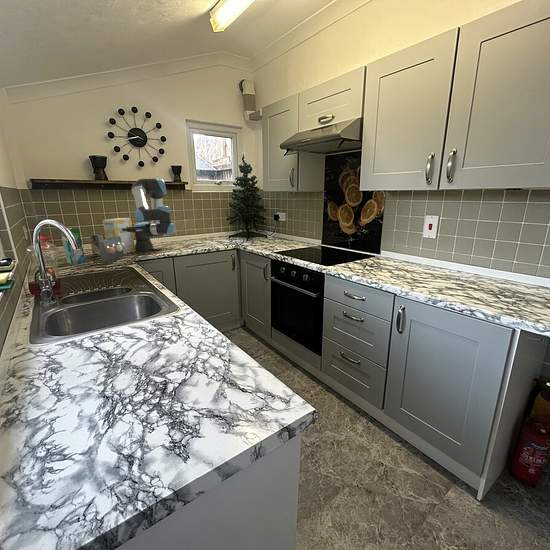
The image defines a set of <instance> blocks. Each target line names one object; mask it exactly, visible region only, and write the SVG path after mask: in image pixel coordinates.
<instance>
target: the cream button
mask: <svg viewBox="0 0 550 550" xmlns="http://www.w3.org/2000/svg"><path fill="white" fill-rule="evenodd" d="M115 249H116V251H122V249H123V248H122V246H121V245H116V247H115Z"/></svg>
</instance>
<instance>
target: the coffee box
mask: <svg viewBox="0 0 550 550" xmlns="http://www.w3.org/2000/svg"><path fill="white" fill-rule="evenodd" d="M88 237H89V241H90V246H91V250H92V251H91V252H92V255H93V254H98V255H97V256H101V255H100V250H99V245H98V242H99V241H102V240H106V237H105V234H91V235H88Z"/></svg>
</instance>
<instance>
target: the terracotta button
mask: <svg viewBox="0 0 550 550" xmlns="http://www.w3.org/2000/svg"><path fill="white" fill-rule="evenodd" d="M107 252H108V253H109V254H113V253H115V249H114V247H108V249H107Z"/></svg>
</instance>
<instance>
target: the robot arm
mask: <svg viewBox="0 0 550 550" xmlns="http://www.w3.org/2000/svg"><path fill="white" fill-rule="evenodd" d="M130 190H131V194H132V196H133V197H134V201H135V207H136V209H135V210H134V216H135V221H136V222H138V223H135V224H134V225H133V226H132V227H118V232H124V231H127V232H133V233H134V240H135V250H136V252H138V251H142V252H149V251H148V250H150V251H153V250H154V249H155V248H154V245H153V243H152V241H151V238H157V237H158V238H159V237H161V238H162V237H166V236H167V235H174V234H175V232H176V225H175V223H173V222H172V221H171V212H170V207H169V206H168V205H164V203H163V202H164V197H165V196H166V195H167V188H166V183H165V180H164V179H163V178H140V179H137V180H136V181H135V182H133V183H132V186H131V189H130ZM146 195H147V196H149V198H150V199H151V200H150V201H151V202H150V203H151V208H149V203H148V199H147V196H146ZM149 221H151V222H150V223H149ZM152 249H153V250H152Z"/></svg>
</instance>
